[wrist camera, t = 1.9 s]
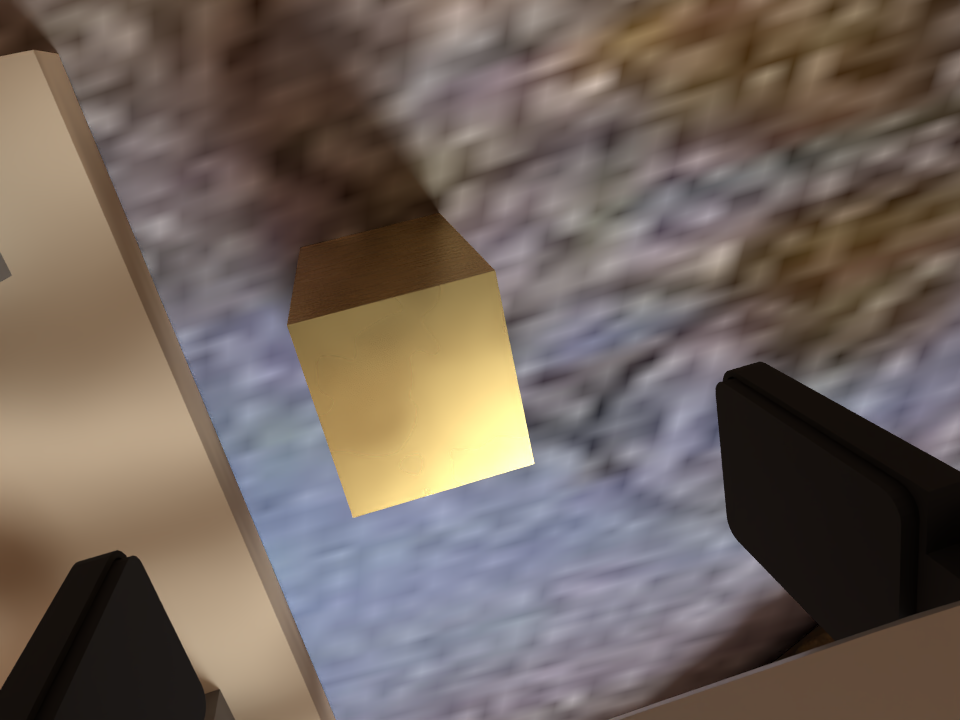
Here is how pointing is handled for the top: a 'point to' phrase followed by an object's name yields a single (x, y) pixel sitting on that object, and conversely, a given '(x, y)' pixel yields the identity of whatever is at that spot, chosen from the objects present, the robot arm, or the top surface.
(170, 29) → the top surface
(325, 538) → the top surface
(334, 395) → the yellow rectangular block
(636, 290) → the top surface
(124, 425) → the shaft mount
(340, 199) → the top surface
